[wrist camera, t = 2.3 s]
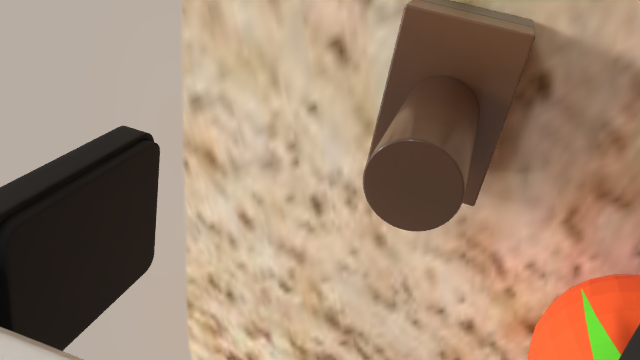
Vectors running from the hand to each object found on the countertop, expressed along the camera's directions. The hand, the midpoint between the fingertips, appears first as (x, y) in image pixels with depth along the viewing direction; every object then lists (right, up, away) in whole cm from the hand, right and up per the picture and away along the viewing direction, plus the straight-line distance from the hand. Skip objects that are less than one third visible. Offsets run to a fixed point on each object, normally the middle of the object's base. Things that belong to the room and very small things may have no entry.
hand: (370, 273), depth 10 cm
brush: (+4, +5, +10) cm, 12 cm away
